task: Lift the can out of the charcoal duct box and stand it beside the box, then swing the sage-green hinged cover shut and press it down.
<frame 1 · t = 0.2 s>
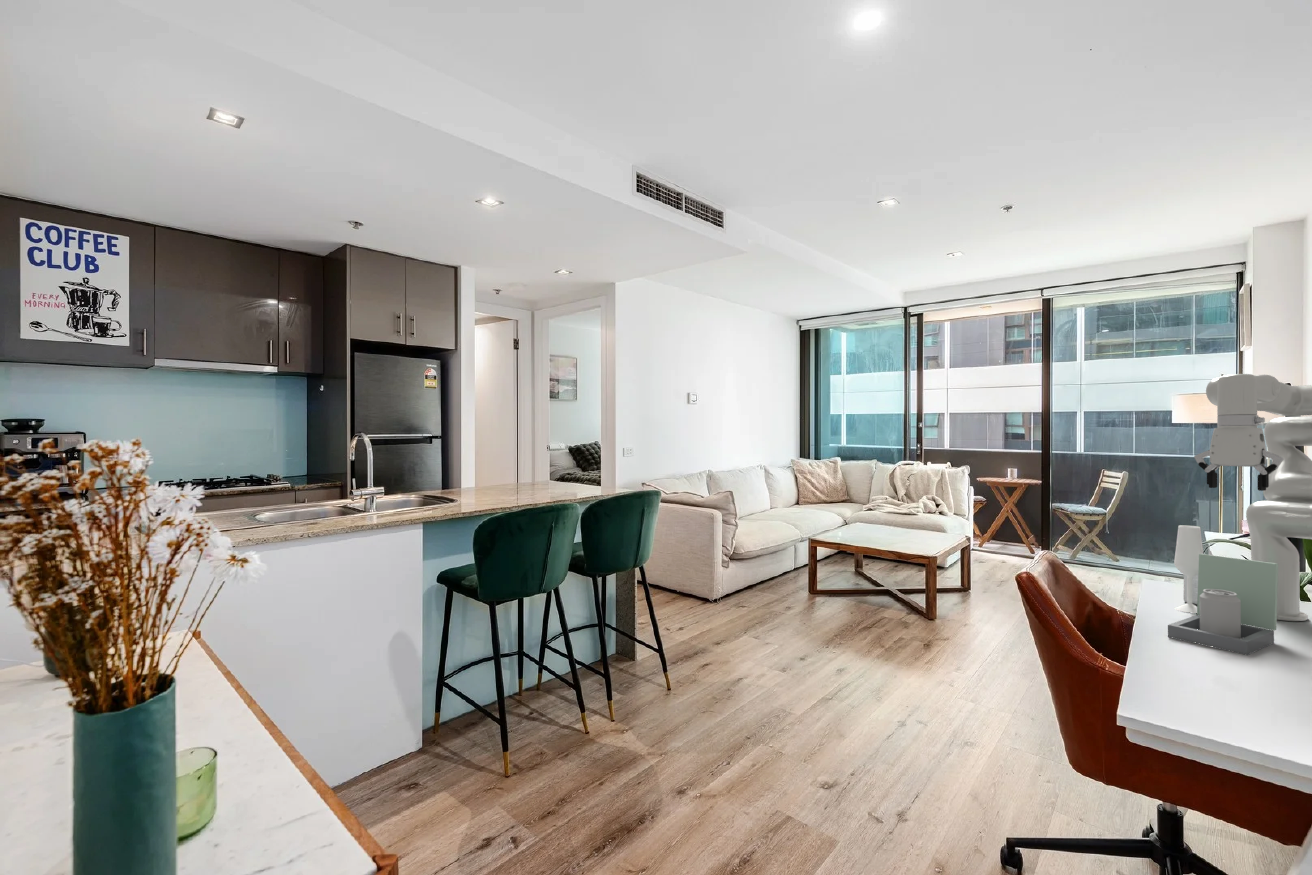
hand: (1236, 489, 160), 36 cm above the table, tool pointing down, fingers open, 9 cm apart
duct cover: (1236, 590, 158), point 11 cm above the table, hinge at 95.0°
duct box: (1220, 639, 153), on the table
can: (1220, 640, 153), resting in duct box
champagne flute: (1189, 611, 178), on the table
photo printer: (1205, 606, 183), on the table
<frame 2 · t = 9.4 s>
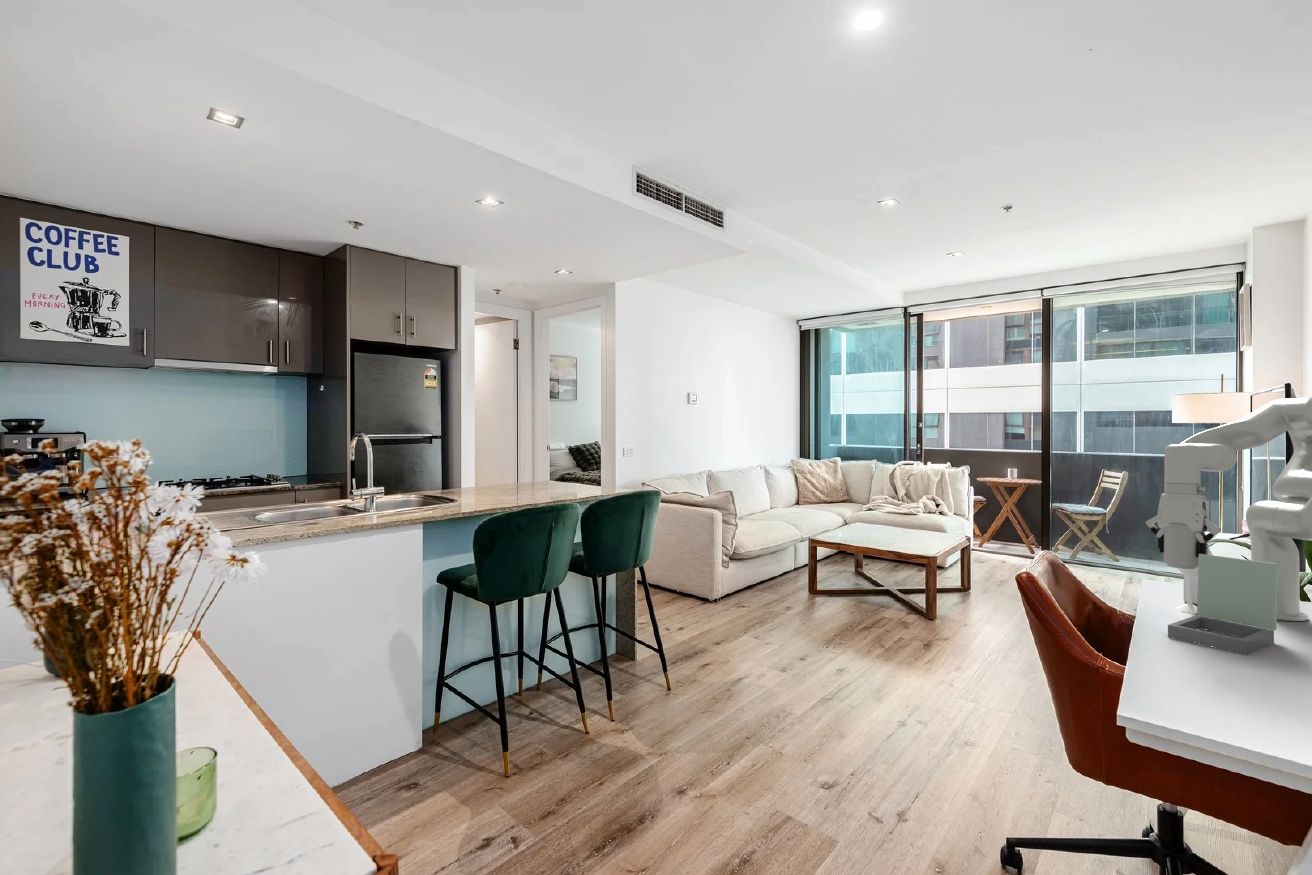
hand: (1181, 554, 169), 18 cm above the table, tool pointing down, fingers closed on can, 7 cm apart
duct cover: (1235, 590, 157), point 11 cm above the table, hinge at 94.1°
can: (1181, 567, 169), point 14 cm above the table, touching gripper
everything else where it was.
when the fingers open (5 cm above the table, at t = 12.2 s): can drops 2 cm, on the table.
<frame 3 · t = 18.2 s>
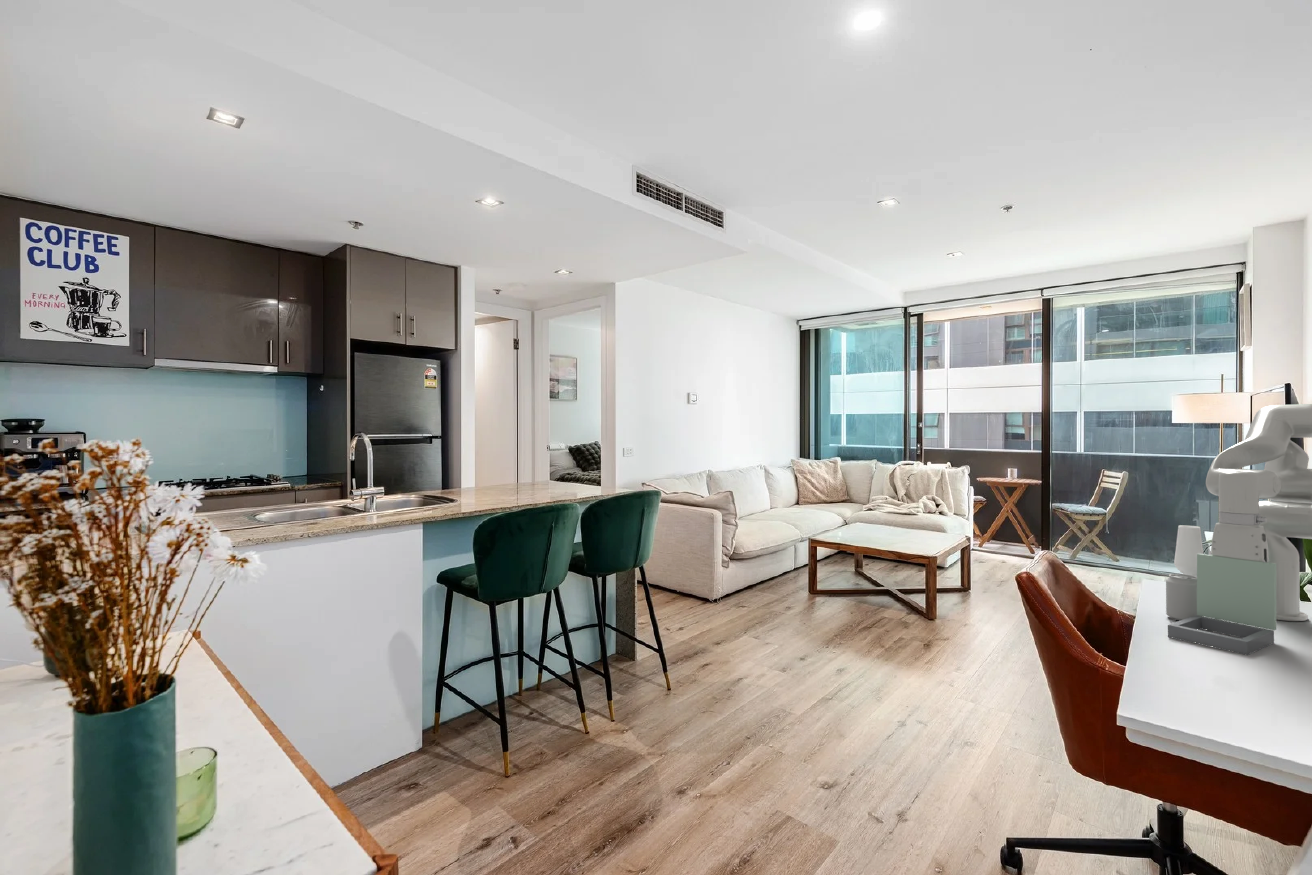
hand: (1238, 591, 158), 10 cm above the table, tool pointing down, fingers closed
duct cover: (1235, 590, 157), point 11 cm above the table, hinge at 90.8°, touching gripper
can: (1184, 620, 169), on the table
everything else where it was.
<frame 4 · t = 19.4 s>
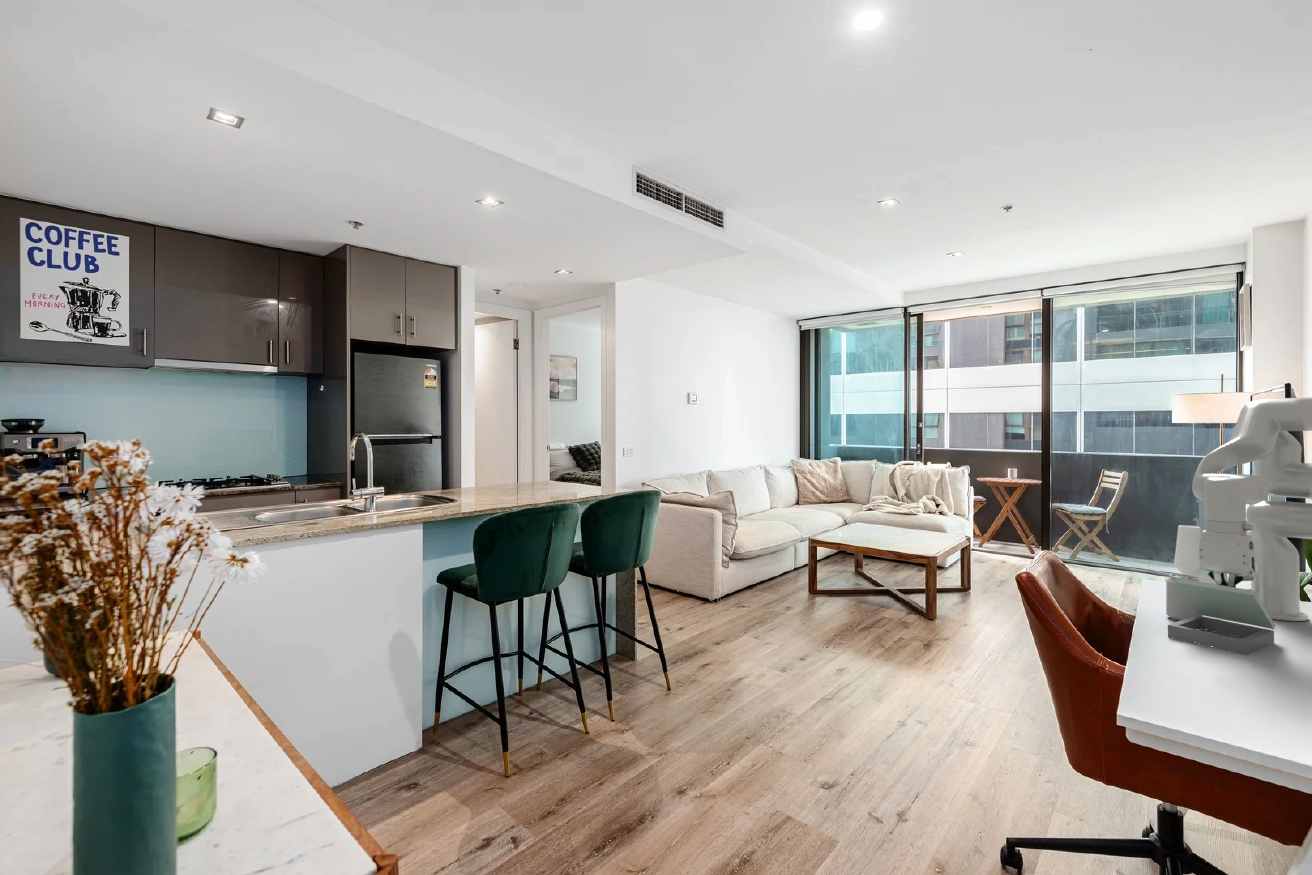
hand: (1227, 600, 155), 9 cm above the table, tool pointing down, fingers closed
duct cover: (1223, 603, 154), point 9 cm above the table, hinge at 38.6°, touching gripper
everything else where it was.
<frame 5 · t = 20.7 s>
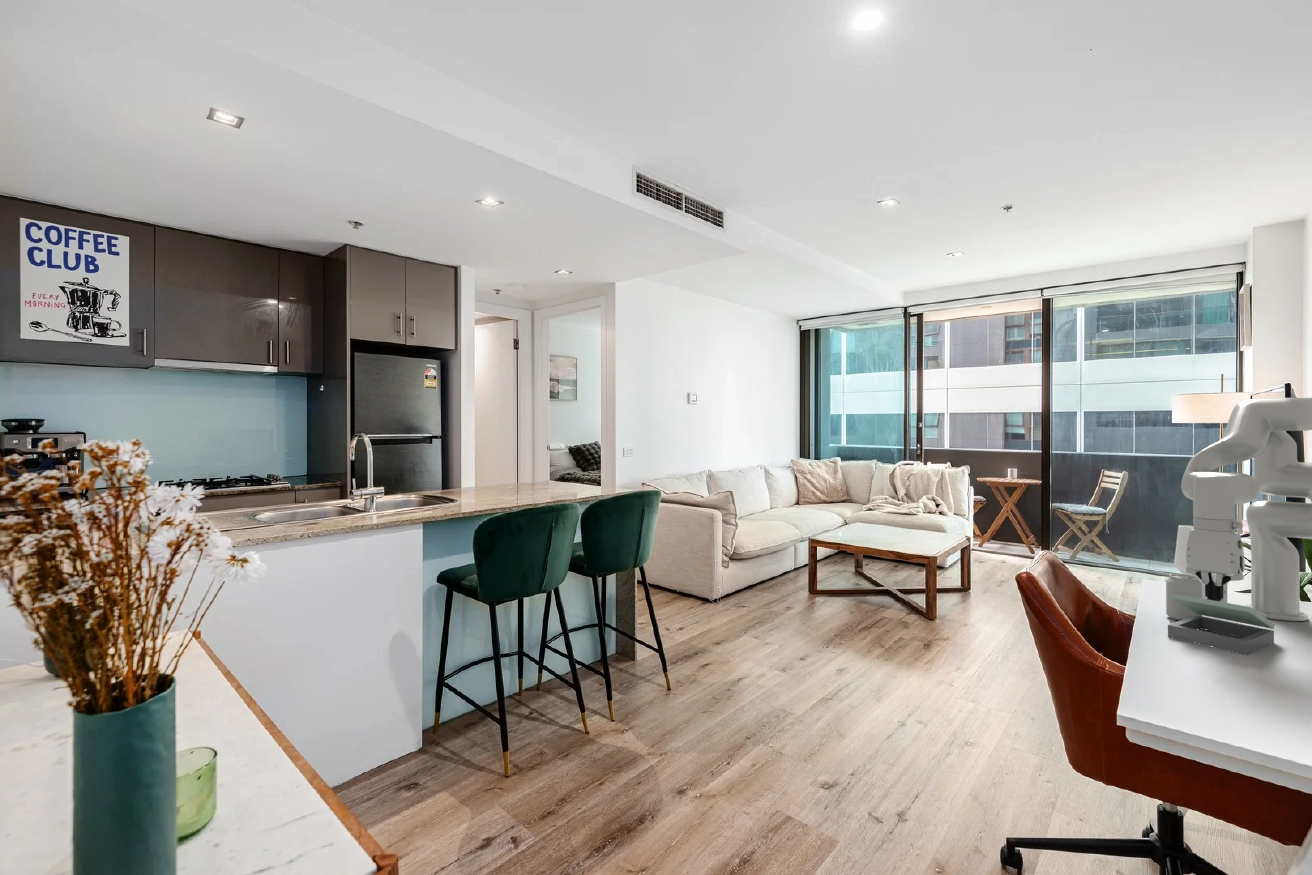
hand: (1214, 600, 151), 10 cm above the table, tool pointing down, fingers closed
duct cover: (1221, 610, 153), point 7 cm above the table, hinge at 23.4°, touching gripper
everything else where it was.
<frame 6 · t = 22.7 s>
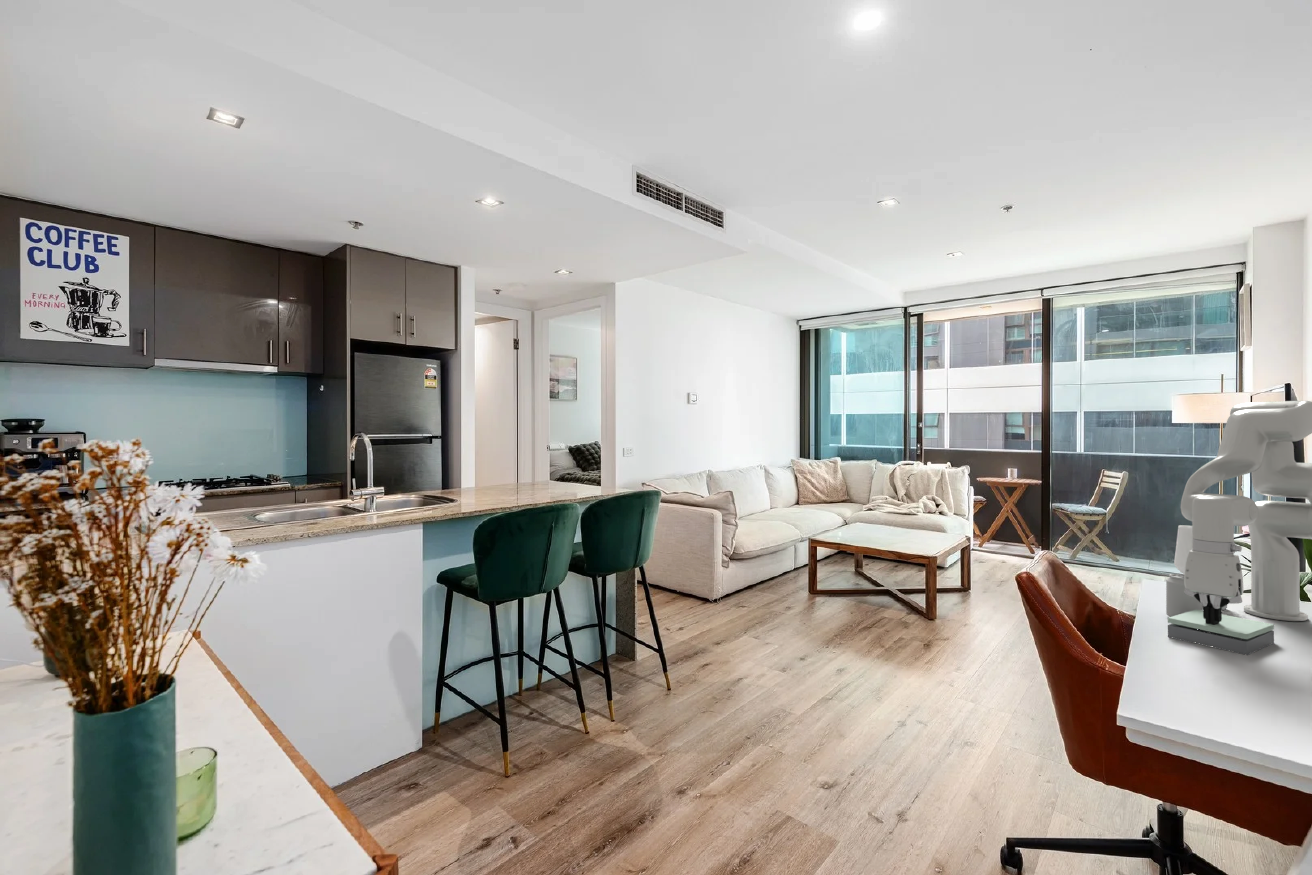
hand: (1212, 623, 151), 5 cm above the table, tool pointing down, fingers closed
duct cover: (1219, 623, 153), point 4 cm above the table, hinge at 0.9°, touching gripper
everything else where it was.
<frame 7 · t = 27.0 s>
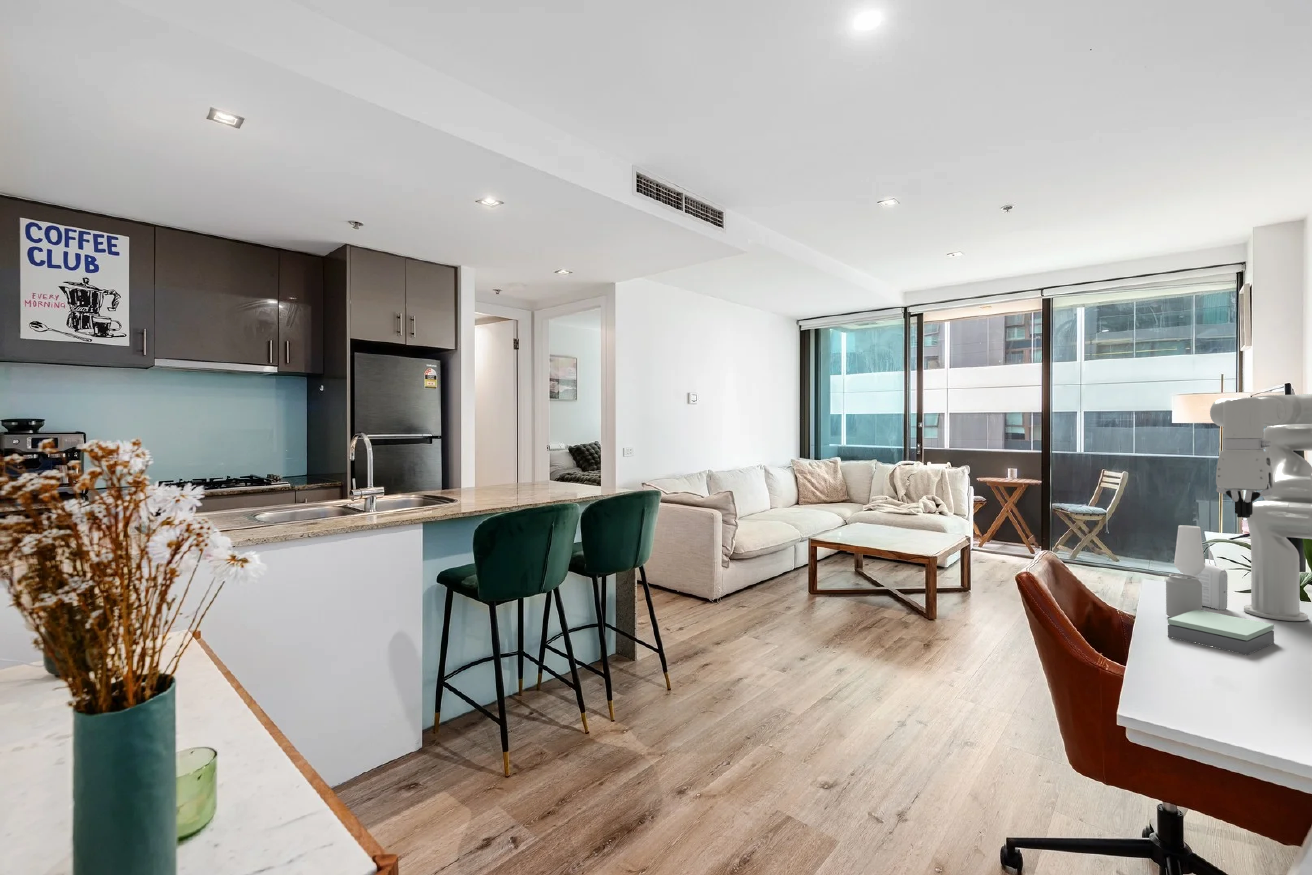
hand: (1243, 517, 160), 29 cm above the table, tool pointing down, fingers closed
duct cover: (1219, 623, 153), point 4 cm above the table, hinge at -0.1°
everything else where it was.
at the end: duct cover at +0° (first picture: +95°); can inside the target area (0.1 cm from its centre), on the table; can tilted 0° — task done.
